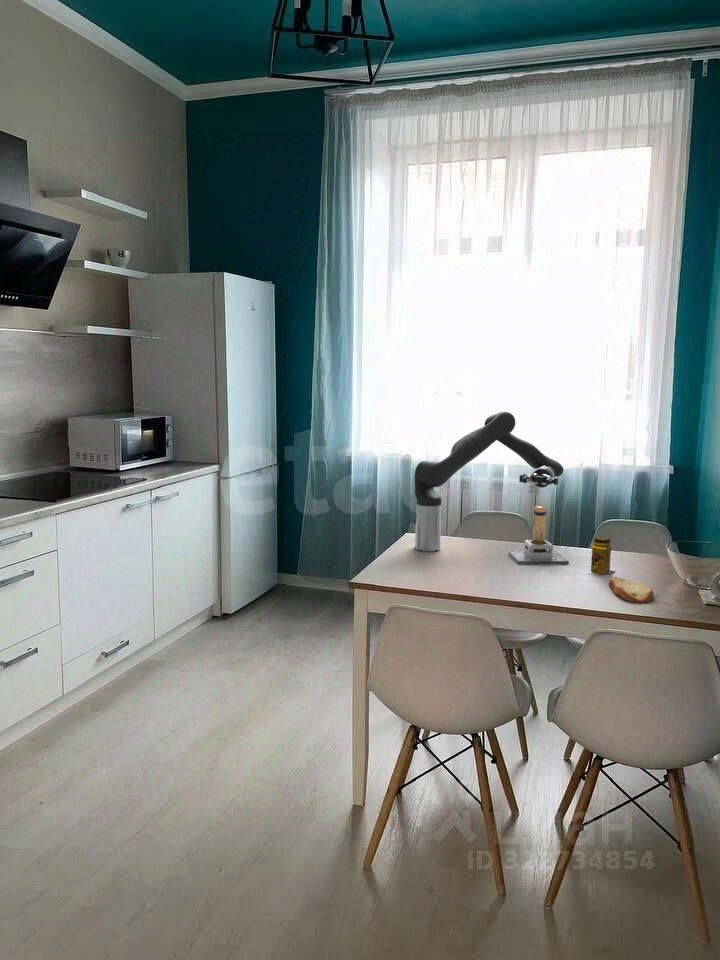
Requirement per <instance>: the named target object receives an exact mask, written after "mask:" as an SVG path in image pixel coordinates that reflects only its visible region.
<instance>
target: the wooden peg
mask: <svg viewBox="0 0 720 960" xmlns="http://www.w3.org/2000/svg"><path fill="white" fill-rule="evenodd" d="M533 515H534V516H533V532H532V537H533V538H532V540H533V544H544V540H546V538H545V536H546V516H547V506H542V505H535V506H534V510H533ZM534 552H544V549H534Z"/></svg>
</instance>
